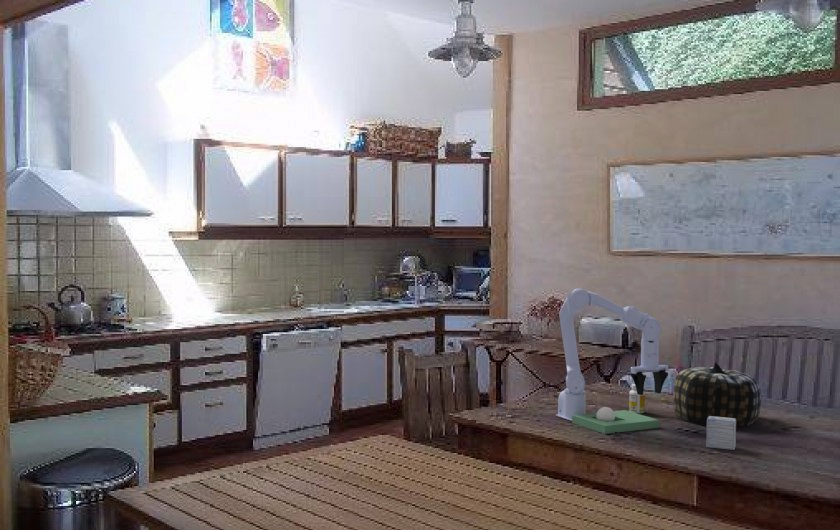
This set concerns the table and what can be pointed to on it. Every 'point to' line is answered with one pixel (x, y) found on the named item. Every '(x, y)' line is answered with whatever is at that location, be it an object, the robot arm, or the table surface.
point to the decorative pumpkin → (716, 395)
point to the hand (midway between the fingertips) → (649, 393)
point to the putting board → (616, 422)
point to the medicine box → (721, 432)
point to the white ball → (605, 414)
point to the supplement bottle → (636, 401)
